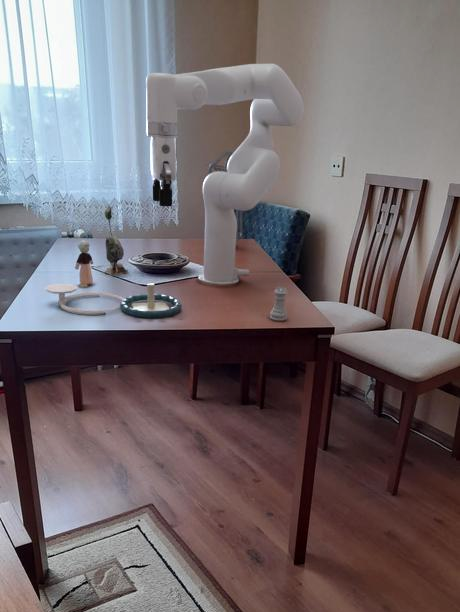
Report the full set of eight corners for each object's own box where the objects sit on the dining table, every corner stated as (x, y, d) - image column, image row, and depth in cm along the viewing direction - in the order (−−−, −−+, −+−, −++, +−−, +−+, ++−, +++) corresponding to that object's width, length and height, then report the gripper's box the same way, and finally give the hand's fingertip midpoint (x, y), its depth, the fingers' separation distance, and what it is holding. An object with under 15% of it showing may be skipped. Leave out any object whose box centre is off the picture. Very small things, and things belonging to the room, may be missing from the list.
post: (165, 306, 147) (165, 279, 143) (172, 316, 139) (172, 288, 136) (131, 307, 144) (130, 280, 141) (136, 318, 136) (135, 289, 133)
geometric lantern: (242, 243, 231) (248, 151, 215) (245, 251, 217) (251, 153, 201) (204, 241, 230) (207, 149, 214) (205, 249, 216) (208, 150, 200)
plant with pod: (99, 277, 169) (95, 208, 160) (108, 269, 179) (104, 204, 170) (125, 279, 169) (123, 210, 160) (132, 270, 179) (131, 205, 170)
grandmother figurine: (87, 288, 157) (84, 243, 152) (74, 287, 158) (71, 241, 152) (98, 282, 164) (95, 238, 158) (86, 281, 165) (83, 237, 159)
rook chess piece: (268, 316, 144) (270, 285, 140) (285, 316, 144) (288, 286, 140) (270, 321, 140) (273, 290, 136) (288, 322, 140) (291, 290, 136)
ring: (174, 297, 149) (174, 292, 148) (186, 316, 137) (186, 310, 136) (117, 300, 145) (116, 294, 144) (124, 320, 132) (124, 313, 132)
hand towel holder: (121, 299, 135) (35, 296, 134) (122, 317, 137) (37, 313, 136) (129, 281, 150) (52, 278, 149) (130, 297, 152) (54, 294, 151)
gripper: (184, 132, 132) (183, 208, 139) (169, 130, 146) (169, 199, 154) (153, 131, 129) (153, 208, 137) (141, 129, 144) (142, 199, 152)
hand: (162, 203), depth 146 cm, fingers open, 9 cm apart
